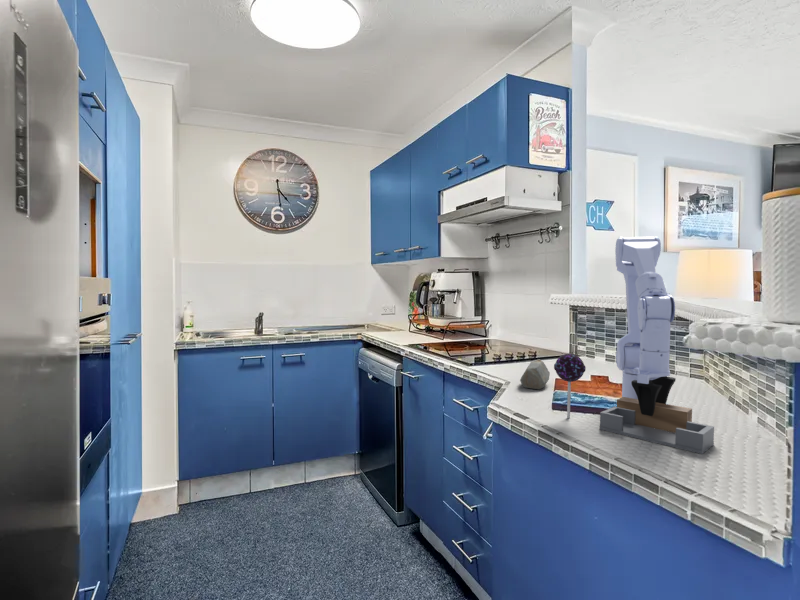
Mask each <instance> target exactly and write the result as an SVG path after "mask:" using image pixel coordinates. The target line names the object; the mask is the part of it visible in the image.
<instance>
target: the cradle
mask: <svg viewBox="0 0 800 600" xmlns="http://www.w3.org/2000/svg"><path fill="white" fill-rule="evenodd" d="M635 416H636V411H634V410H629V409H624V408H619V407H616V406H612V407H610V408H607V409H605V410H603V411H600V414H599V417H600V418H599V430H600V431H601V430H602V431H606V432H610V433H612V434H613V433H614V434H617V435H622V436H626V437H630V438H635V439H637V440H638V439H639V440H642V441H647V442H651V443H654V444H659V445H663V446H666V447H667V446H668V447H672V448H676V449H680V450H684V451H687V452H692V453H697V454H701V455H703V454H704V453H705V452H707V451H708V450H709V449H711V448H712V446H714V445H715V441H714V440H715V439H714V438H715V426H714V425H708V424H703V423H699V422H695V421H694V422H693V421H692V422H689V421H687V423H686V429H681V428H676V433H674V432H669V431H665V430H660V429H655V428H650V427H646V426H641V425H637V424H635Z"/></svg>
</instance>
